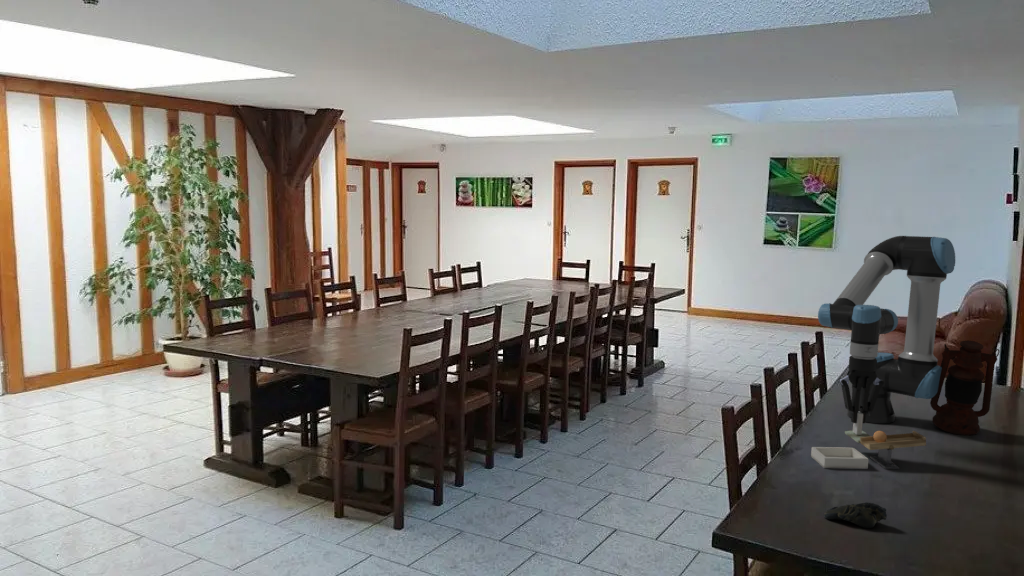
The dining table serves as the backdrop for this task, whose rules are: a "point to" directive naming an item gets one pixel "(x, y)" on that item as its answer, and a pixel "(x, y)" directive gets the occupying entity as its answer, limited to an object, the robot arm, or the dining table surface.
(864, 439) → the lever
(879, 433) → the ball
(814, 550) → the dining table surface
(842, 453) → the dish
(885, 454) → the fulcrum
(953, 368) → the lantern
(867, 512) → the stone
